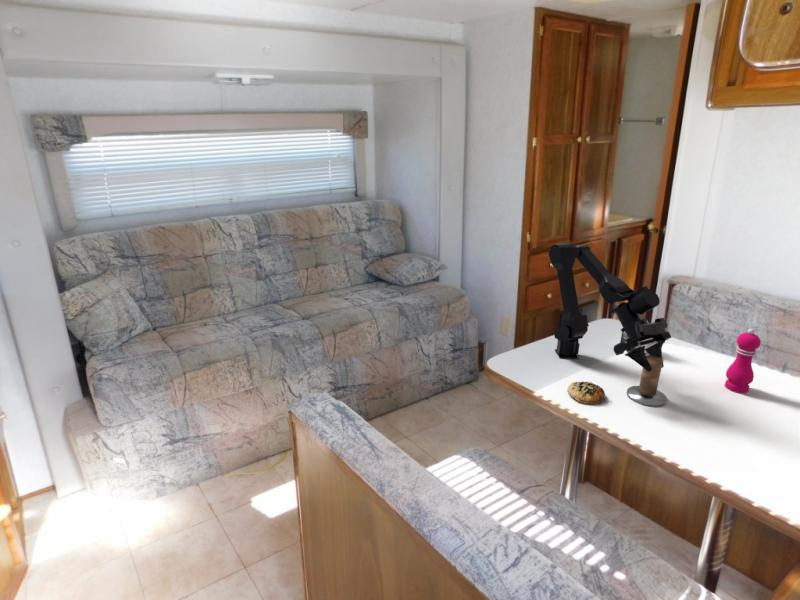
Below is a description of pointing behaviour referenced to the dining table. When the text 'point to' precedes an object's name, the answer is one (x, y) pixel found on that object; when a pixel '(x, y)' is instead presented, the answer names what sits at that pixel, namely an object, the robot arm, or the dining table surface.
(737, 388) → the pepper mill
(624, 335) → the medicine bottle
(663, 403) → the pad
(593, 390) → the bread roll
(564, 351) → the robot arm
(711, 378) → the dining table surface
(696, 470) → the dining table surface
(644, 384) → the walnut post
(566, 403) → the dining table surface
